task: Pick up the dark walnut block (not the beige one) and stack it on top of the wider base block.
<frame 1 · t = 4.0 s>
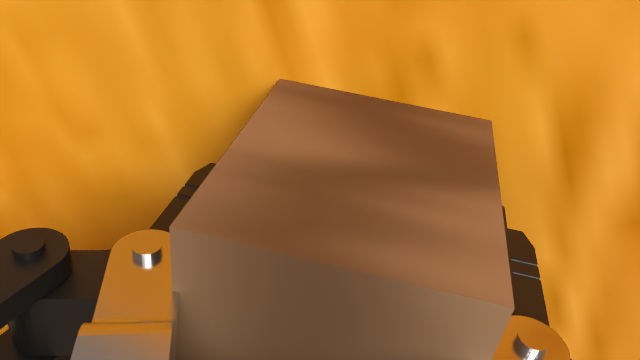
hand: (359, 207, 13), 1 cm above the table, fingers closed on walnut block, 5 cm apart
walnut block: (365, 187, 14), on the table, touching gripper
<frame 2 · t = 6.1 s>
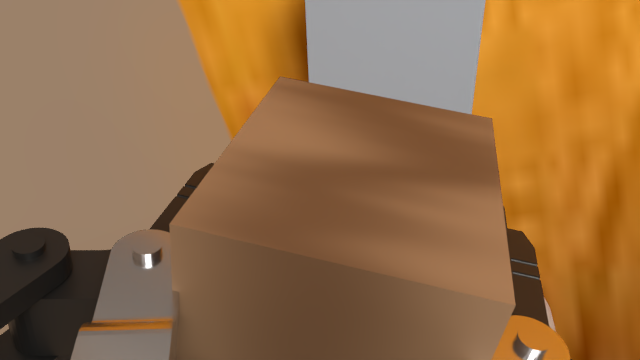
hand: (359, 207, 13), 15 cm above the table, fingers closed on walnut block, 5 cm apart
walnut block: (365, 185, 14), point 14 cm above the table, touching gripper
base block: (398, 38, 26), on the table
when the fingers open (7 cm above the table, at t = 8.2 s): walnut block drops 2 cm, resting on base block.
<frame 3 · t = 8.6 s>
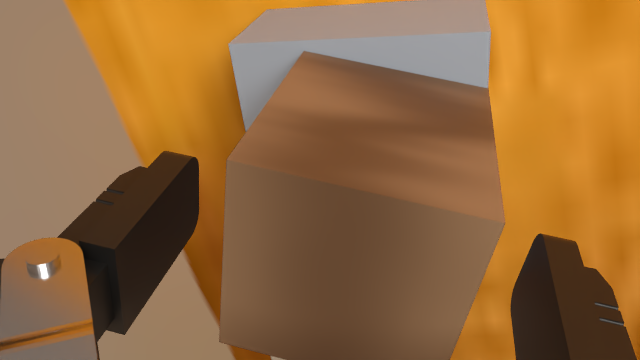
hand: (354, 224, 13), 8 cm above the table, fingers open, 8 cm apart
walnut block: (376, 149, 16), point 4 cm above the table, touching base block
base block: (377, 101, 19), on the table, touching walnut block
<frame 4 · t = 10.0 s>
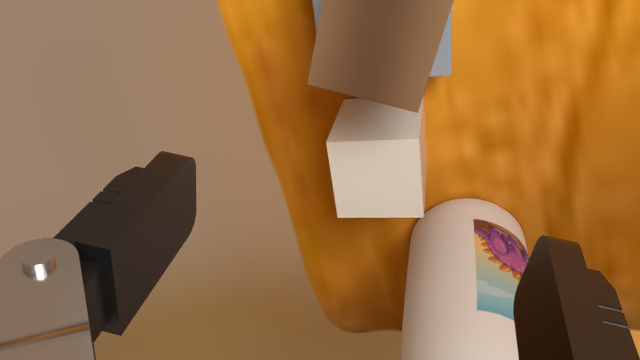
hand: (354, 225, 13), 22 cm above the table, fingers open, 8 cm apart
beige block: (386, 132, 35), on the table
walnut block: (388, 7, 27), point 4 cm above the table, touching base block
milk bottle: (466, 238, 38), on the table
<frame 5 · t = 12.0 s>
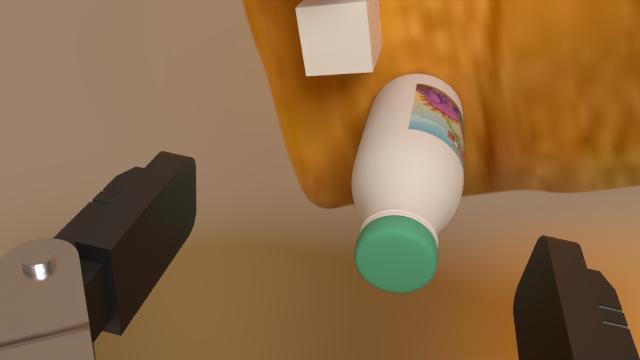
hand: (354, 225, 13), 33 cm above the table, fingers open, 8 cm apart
beige block: (348, 17, 44), on the table
milk bottle: (416, 112, 47), on the table
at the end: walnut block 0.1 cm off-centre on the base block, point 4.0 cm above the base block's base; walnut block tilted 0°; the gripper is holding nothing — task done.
